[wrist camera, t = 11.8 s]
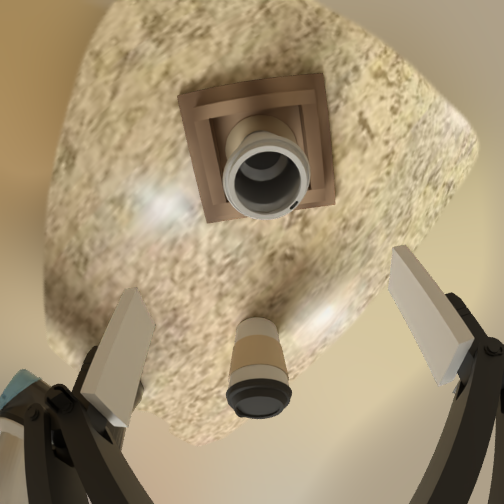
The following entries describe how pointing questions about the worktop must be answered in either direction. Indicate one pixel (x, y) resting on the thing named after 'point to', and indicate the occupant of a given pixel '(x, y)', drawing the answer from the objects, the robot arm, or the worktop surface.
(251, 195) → the cup
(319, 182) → the holder
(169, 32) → the worktop surface
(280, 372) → the coffee cup
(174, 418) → the worktop surface
